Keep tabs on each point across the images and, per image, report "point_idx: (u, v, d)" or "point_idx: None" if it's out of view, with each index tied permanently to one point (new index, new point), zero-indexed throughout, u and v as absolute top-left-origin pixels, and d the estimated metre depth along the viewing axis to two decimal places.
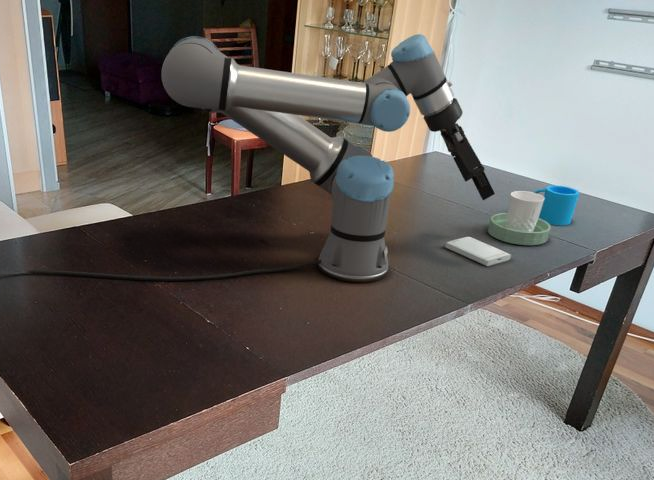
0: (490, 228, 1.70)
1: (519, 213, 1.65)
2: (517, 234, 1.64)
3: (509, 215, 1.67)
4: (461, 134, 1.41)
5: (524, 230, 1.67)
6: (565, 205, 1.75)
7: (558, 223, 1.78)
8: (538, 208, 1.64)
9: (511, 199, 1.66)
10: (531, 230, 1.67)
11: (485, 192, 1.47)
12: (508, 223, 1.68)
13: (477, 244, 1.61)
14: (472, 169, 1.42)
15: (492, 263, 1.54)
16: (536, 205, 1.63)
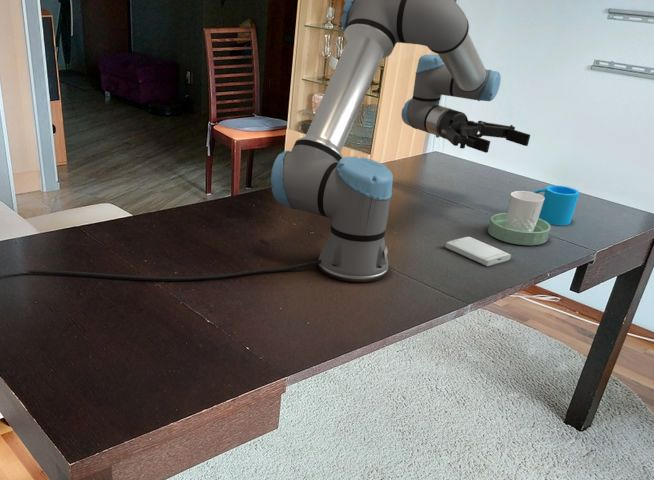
0: (490, 228, 1.70)
1: (519, 213, 1.65)
2: (517, 234, 1.64)
3: (509, 215, 1.67)
4: None
5: (524, 230, 1.67)
6: (565, 205, 1.75)
7: (558, 223, 1.78)
8: (538, 208, 1.64)
9: (511, 199, 1.66)
10: (531, 230, 1.67)
11: None
12: (508, 223, 1.68)
13: (477, 244, 1.61)
14: None
15: (492, 263, 1.54)
16: (536, 205, 1.63)
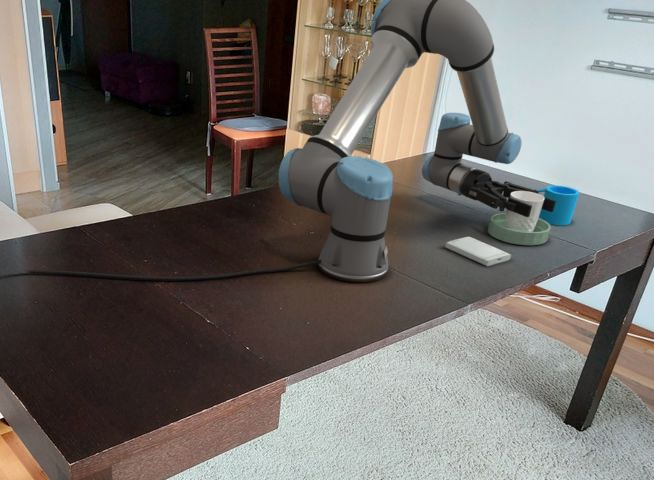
0: (490, 228, 1.70)
1: None
2: (517, 234, 1.64)
3: (509, 215, 1.67)
4: None
5: (524, 230, 1.67)
6: (565, 205, 1.75)
7: (558, 223, 1.78)
8: (538, 208, 1.64)
9: None
10: (531, 230, 1.67)
11: None
12: (508, 223, 1.68)
13: (477, 244, 1.61)
14: None
15: (492, 263, 1.54)
16: (536, 205, 1.63)
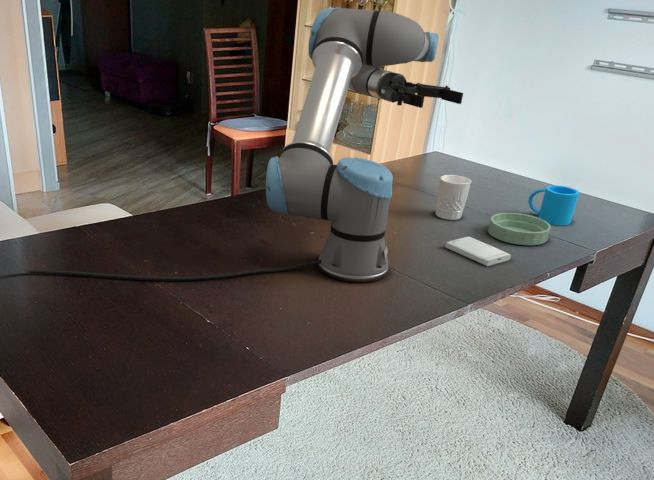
0: (490, 228, 1.70)
1: (448, 195, 1.76)
2: (517, 234, 1.64)
3: (439, 197, 1.79)
4: None
5: (453, 211, 1.78)
6: (565, 205, 1.75)
7: (558, 223, 1.78)
8: (465, 190, 1.75)
9: (440, 182, 1.77)
10: (460, 211, 1.79)
11: None
12: (439, 205, 1.79)
13: (477, 244, 1.61)
14: None
15: (492, 263, 1.54)
16: (462, 188, 1.74)
